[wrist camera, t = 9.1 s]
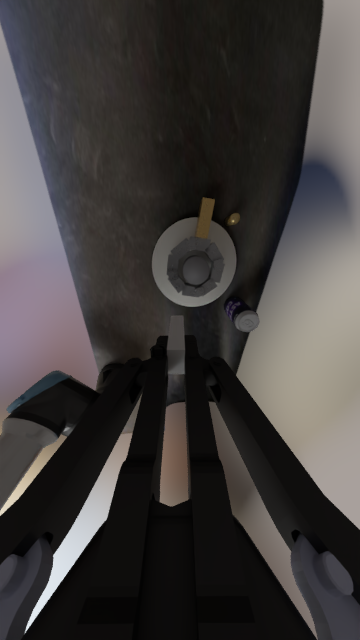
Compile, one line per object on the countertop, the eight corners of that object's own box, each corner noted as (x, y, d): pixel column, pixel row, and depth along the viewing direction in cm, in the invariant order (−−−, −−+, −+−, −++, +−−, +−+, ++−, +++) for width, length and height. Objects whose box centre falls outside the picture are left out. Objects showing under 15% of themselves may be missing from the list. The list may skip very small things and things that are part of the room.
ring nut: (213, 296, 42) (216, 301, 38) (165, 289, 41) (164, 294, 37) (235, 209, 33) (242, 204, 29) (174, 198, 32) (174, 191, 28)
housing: (206, 316, 47) (210, 328, 40) (140, 284, 42) (133, 291, 36) (251, 247, 38) (267, 248, 32) (175, 197, 34) (174, 186, 27)
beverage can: (232, 291, 44) (249, 307, 33) (245, 302, 45) (266, 320, 34) (219, 306, 46) (231, 325, 35) (232, 316, 47) (247, 337, 37)
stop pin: (229, 228, 36) (236, 226, 32) (222, 223, 36) (228, 220, 31) (234, 219, 36) (241, 216, 31) (227, 214, 35) (234, 210, 31)
